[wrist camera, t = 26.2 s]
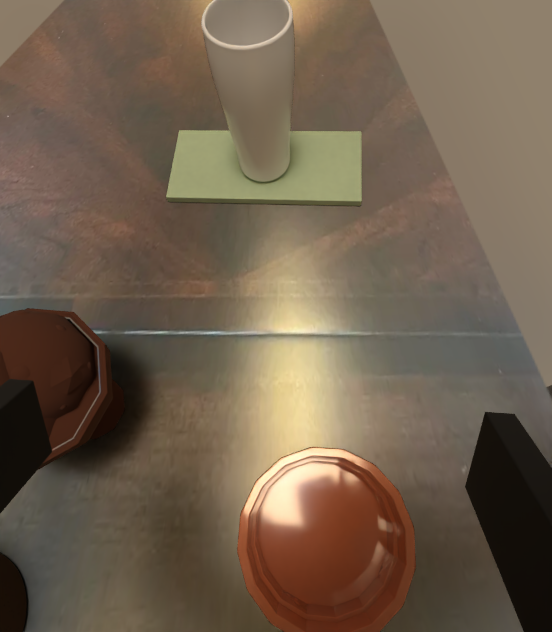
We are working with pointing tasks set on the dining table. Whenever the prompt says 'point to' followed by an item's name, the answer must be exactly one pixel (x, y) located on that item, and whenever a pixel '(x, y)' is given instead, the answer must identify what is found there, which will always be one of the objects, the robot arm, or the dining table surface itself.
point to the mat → (290, 188)
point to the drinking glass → (254, 79)
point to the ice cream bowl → (62, 375)
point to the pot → (326, 544)
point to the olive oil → (11, 597)
